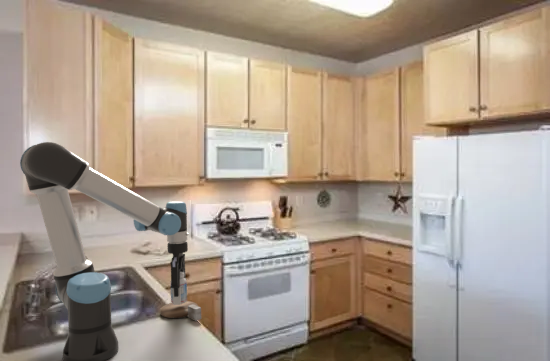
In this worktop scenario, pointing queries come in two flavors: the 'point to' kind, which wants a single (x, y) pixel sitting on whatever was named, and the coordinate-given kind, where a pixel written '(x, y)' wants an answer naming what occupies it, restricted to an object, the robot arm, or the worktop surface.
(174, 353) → the worktop surface
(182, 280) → the pill bottle
